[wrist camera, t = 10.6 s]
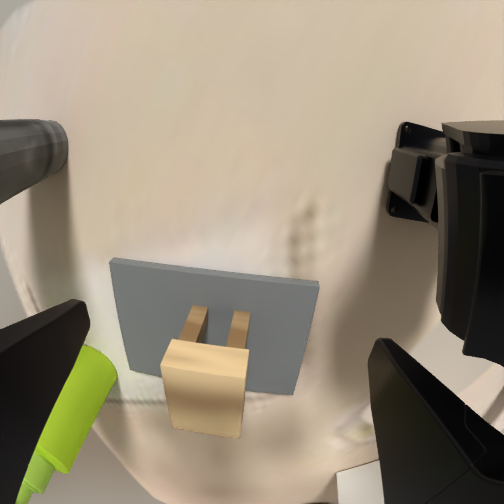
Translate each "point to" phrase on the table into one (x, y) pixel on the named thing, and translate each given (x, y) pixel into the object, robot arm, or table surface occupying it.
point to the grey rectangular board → (215, 316)
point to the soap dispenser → (69, 420)
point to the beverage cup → (29, 153)
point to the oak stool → (207, 377)
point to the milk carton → (360, 485)
